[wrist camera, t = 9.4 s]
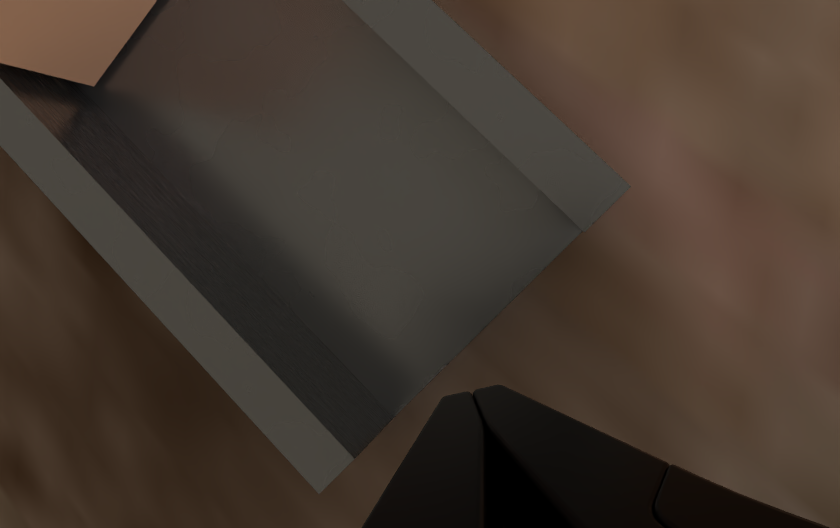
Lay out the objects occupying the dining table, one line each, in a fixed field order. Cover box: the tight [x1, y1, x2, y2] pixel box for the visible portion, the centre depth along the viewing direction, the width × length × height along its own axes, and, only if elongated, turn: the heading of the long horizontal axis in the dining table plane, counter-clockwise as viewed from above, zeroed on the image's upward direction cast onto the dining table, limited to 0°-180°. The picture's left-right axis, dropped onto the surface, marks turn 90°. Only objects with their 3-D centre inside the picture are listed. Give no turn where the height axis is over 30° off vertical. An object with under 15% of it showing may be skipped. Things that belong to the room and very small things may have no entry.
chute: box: [0, 0, 631, 494], centre depth 17 cm, size 20×9×4 cm, turn 46°
